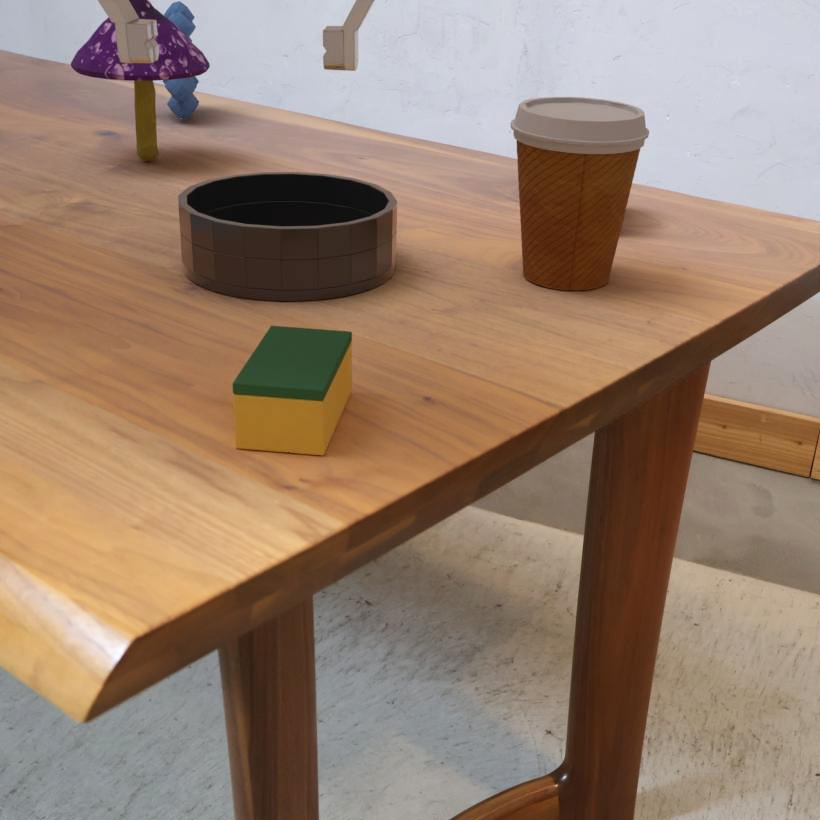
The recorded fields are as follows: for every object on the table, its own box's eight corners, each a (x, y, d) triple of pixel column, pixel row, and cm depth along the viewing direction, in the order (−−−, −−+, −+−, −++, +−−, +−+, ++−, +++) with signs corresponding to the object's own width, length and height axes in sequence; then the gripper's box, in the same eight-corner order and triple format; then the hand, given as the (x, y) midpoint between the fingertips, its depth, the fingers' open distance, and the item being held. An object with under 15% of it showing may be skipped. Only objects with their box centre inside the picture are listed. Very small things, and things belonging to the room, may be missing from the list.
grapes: (148, 106, 133) (139, -5, 128) (207, 107, 134) (201, -3, 129) (141, 127, 123) (131, 7, 118) (205, 127, 124) (199, 9, 119)
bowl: (153, 292, 77) (147, 219, 75) (216, 229, 91) (213, 166, 89) (377, 309, 76) (378, 235, 74) (407, 243, 90) (409, 179, 87)
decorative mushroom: (115, 183, 102) (98, 3, 95) (59, 155, 110) (40, -13, 104) (239, 167, 109) (232, -2, 102) (178, 141, 118) (167, -16, 111)
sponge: (235, 449, 58) (231, 382, 56) (272, 385, 65) (270, 325, 63) (324, 456, 57) (323, 390, 56) (351, 391, 64) (352, 331, 63)
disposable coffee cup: (530, 249, 90) (542, 90, 84) (648, 271, 86) (668, 106, 81) (479, 283, 82) (489, 110, 76) (606, 308, 78) (625, 129, 73)
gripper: (474, -268, 50) (463, 62, 56) (7, -284, 50) (48, 48, 57) (474, -286, 45) (461, 84, 51) (-52, -303, 45) (0, 68, 51)
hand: (240, 65), depth 54 cm, fingers open, 8 cm apart
